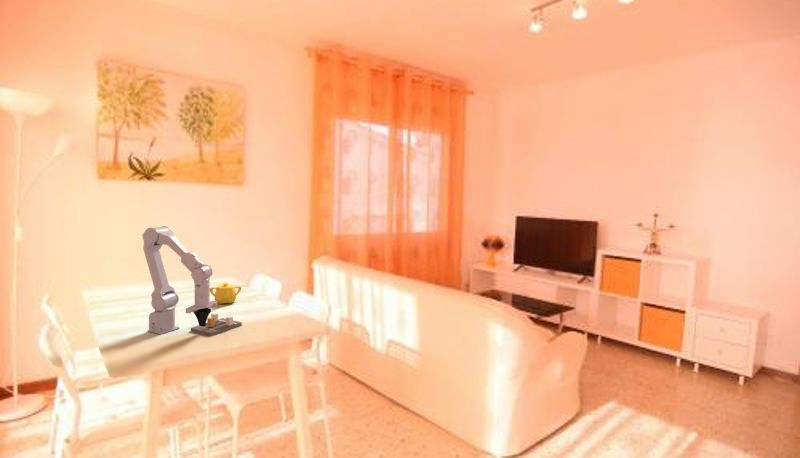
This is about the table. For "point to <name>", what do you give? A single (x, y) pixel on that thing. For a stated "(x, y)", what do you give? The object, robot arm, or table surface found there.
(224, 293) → the teapot
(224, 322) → the panel
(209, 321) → the breaker
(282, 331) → the table surface
